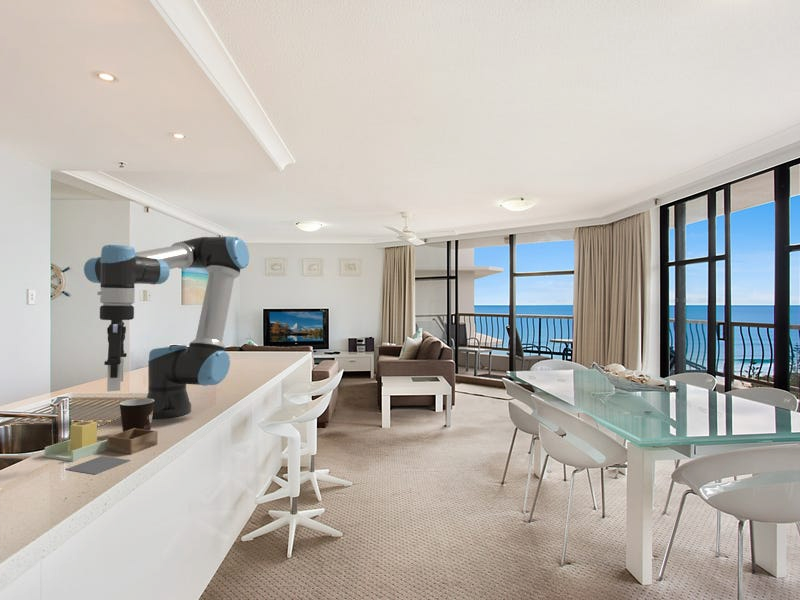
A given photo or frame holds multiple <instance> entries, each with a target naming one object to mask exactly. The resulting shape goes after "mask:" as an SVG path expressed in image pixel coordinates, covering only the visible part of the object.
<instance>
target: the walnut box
mask: <svg viewBox="0 0 800 600" xmlns="http://www.w3.org/2000/svg"><path fill="white" fill-rule="evenodd" d="M106 438H107V439H106V440H107V450H106V451H107V452H110V453H118V454H119V453H120V454H126V455H127V454H128V455H135V454H136V453H140V452H141V451H144V450H147V449H149V448H151V447H156V446H157V445H158V430H152V429H150V430H145V429H136V428H133V429H130V430H127V431H124V432H123V431H122V432H118V433H115V434H112V435H108V436H107V437H106Z"/></svg>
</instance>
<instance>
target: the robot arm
mask: <svg viewBox="0 0 800 600" xmlns="http://www.w3.org/2000/svg"><path fill="white" fill-rule="evenodd" d="M100 253H101V254H100V256H97V257H92V258H89V259H87V261H86V262H85V263H84V266H83V271H84V272H83V273H84V276H85V278H86V279H87V280H88V281H89V282H90V283H94V284H100V285H99V286H100V291H97V295H98V296H100V297H99V302H100V303H101V304H102V305H101V306H99V319H100V320H101V321H110V324H108V327H107V329H106V330H107V331H106V333H107V343H108V346H107V348H108V349H107V351H108V352H107V360H104V365H103V366H107V383H106V385H107V388H106V392H117V391H119V392H120V391H121V384H122V382H124V369H125V368H124V367H125V366H124V365H125V360H124V359H125V358H127V353H126V352H125V350H124V347H125V346H124V345H125V343H124V341H125V340H126V334H127V326H125V322H124V321H131V320H133V319H135V307H134V306H133V304H134V303H135V294H136V293H135V284H136V285H137V284H138V285H139V284H140V285H143V284H145V285H146V284H147V285H162V284H164V283H165V282H166V281H167V280H168V279H169V276H170V272H171V271H170V270H172V269H176V268H178V269H180V270H185V269H189V268H190V269H191V268H192V269H193V268H194V269H205V270H206V272H207V273H208V277H207V278H208V279H207V282H206V283H207V284H206V287H205V293H204V297H203V300H202V301H203V302H202V306H201V310H200V315H199V316H200V317H199V322H198V326H197V329H196V335H195V339H194V340H192V341H190V342H189V345H188V346H187V345H186V344H182V345H174V346H165V347H157V348H152V349H151V350H150V352H149V354H148V361H147V362H148V367H147V368H148V372H147V374H148V391H147V395H146V398H145V399H154V400H155V401H154V408H153V415H152V419H168V418H169V419H170V418H175V417H181V416H184V415H187V414H189V413H191V412H192V403H191V402H190V399H189V394H188V391H187V385H193V386H194V385H197V386H203V387H204V386H205V387H206V386H215V385H216V386H217V385H218V384H220V383H221V382H223V381H224V380H225V379H226V377H227V375H228V373H229V370H230V367H231V360H230V355H229V353H227V352H226V349H227V348H226V346H225V345H224V344H223V339H224V334H225V329H226V324H227V323H226V322H227V318H228V313H229V308H230V304H231V303H230V302H231V299H232V298H231V297H232V292H233V287H234V283H235V282H234V281H235V279H236V278H238V277H239V276H240V273H241V270H243V269H246V268H247V267H248V265H249V264H250V253H249V248H248V245H247V244H246V242H245V241H244V239H242V238H241V237H238V236H230V235H229V236H201V237H196V238H190V239H188V240H182V241H178V242H174V243H172V244H171V246H167V247H160V248H155V249H147V250H143V251H142V250H141V251H137V252H136V248H135V247H133V246H130V245H129V246H128V245H122V244H107V245H103V246H102V247H101V252H100Z"/></svg>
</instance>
